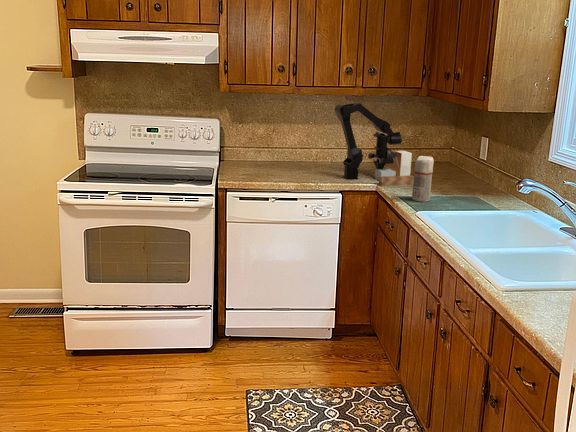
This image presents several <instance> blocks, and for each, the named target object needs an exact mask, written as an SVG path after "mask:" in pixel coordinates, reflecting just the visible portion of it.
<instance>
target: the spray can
mask: <svg viewBox="0 0 576 432" xmlns="http://www.w3.org/2000/svg"><path fill="white" fill-rule="evenodd" d="M434 162H435V161H434V158H433V156H427V155H426V156H424V155H419V156H418V157H417V158H416V160H415V162H414V170H413V171H414V172H413V176H414V182H413V184H412V185H413V186H412V192H411V193H412V194H411V200H412V201H415V202H422V203H423V202H430V200H431V199H430V198H431V187H432V178H433V172H434V164H435V163H434Z"/></svg>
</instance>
